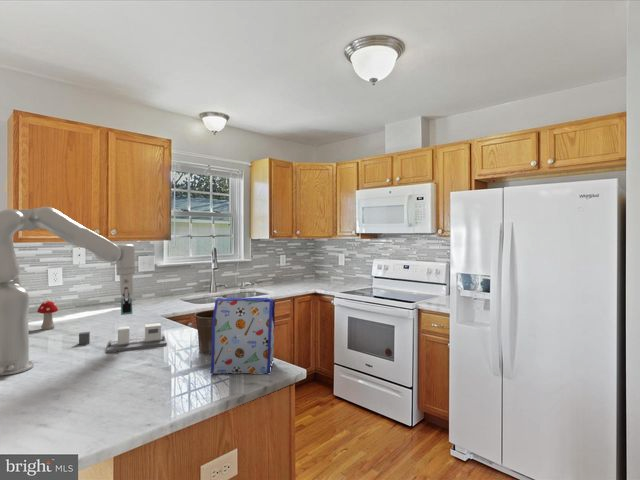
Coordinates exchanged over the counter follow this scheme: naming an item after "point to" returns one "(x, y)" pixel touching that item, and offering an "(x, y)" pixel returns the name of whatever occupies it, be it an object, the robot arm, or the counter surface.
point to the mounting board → (135, 345)
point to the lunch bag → (243, 335)
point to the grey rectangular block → (84, 338)
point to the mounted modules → (150, 333)
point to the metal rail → (133, 342)
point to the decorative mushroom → (47, 314)
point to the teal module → (122, 307)
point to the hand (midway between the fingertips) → (126, 310)
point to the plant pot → (205, 330)
